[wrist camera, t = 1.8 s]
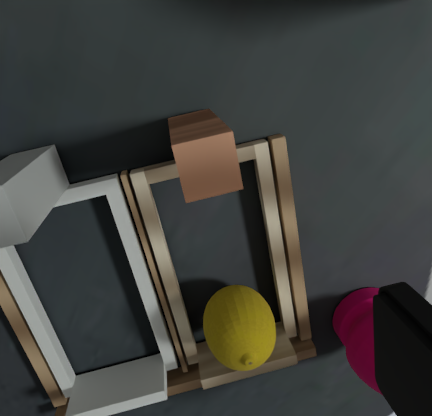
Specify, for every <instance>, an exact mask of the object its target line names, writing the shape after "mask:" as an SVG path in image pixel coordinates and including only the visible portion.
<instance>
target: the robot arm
mask: <svg viewBox="0 0 432 416" xmlns="http://www.w3.org/2000/svg"><path fill="white" fill-rule="evenodd" d="M373 329H374V365H375V379H376V383H377V385H378V388H379V390H380V391H381V393H382V394H383V396H384V397H385V399H386V400H387V402H388V403H389V405H390V406H391V408H392V409H393V411H394V412H395V414H396V415H397V416H432V305H431V304H429V302H428V301H426V300H425V299H424V298H423V297H422V296H421V295H420V294H419V293H417V292H416V291H415V290H414V289H413V288H412V287H411V286H409V285H408V284H407V283H405V282H400V283H395V284H391V285H387V286H383V287H381V288H379V290H378V294H377V295H374V296H373Z"/></svg>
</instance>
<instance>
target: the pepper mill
mask: <svg viewBox="0 0 432 416" xmlns="http://www.w3.org/2000/svg"><path fill="white" fill-rule="evenodd" d="M378 290H379V288H373V287H370V288H362V289H359V290H357V291H354V292H352V293H351V294H349V295H347V296H346V297H345V298H344V299H343V300H342V301H341V302H340V303H339V305H338V306H337V308H336V309H335V312H334V315H333V328H334V330H335V332H336V334H337V335H338V337H339V338H340V340H341V341H342V343H343V344H344V345H345V346H346V356H347V359H348V362H349V364H350V366H351V367H352V369H353V370H354V371H355V373H356V374H357V375H358V376H359V378H361V379H362V380H363V381H364V382H365V383H366V384H367V385H368V386H370V387H371V388H372V389H374V390H375V391H377V392H379V393H380V394H382V393H381V391H380V390H379V388H378V385H377V383H376V379H375V365H374V329H373V296H374V295H377V294H378ZM382 395H383V394H382Z"/></svg>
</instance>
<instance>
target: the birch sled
mask: <svg viewBox="0 0 432 416" xmlns="http://www.w3.org/2000/svg"><path fill="white" fill-rule="evenodd" d="M168 125H169V132H170V139H171V146H172V150H173V154H174V158H175V160H171V161H167V162H163V163H159V164H154V165H150V166H146V167H142V168H138V169H133V170H131V172H130V177H131V180H132V184H133V187H134V190H135V193H136V197H137V200H138V203H139V206H140V209H141V213H142V216H143V219H144V222H145V226H146V229H147V232H148V235H149V238H150V242H151V245H152V248H153V251H154V255H155V258H156V261H157V264H158V267H159V271H160V274H161V277H162V280H163V284H164V287H165V290H166V293H167V296H168V300H169V303H170V306H171V309H172V313H173V316H174V319H175V322H176V325H177V329H178V332H179V335H180V338H181V342H182V345H183V348H184V351H185V354H186V358H187V361H188V364H189V365H190V364H194V363H199V371H200V379H201V383H202V386H203V390H204V389H207V388H211V387H215V386H218V385H222V384H226V383H229V382H233V381H237V380H240V379H244V378H248V377H251V376H255V375H259V374H262V373H266V372H270V371H273V370H277V369H281V368H284V367H288V366H292V365H295V364H298V362H297V355H296V353H295V351H294V348H293V346H292V344H291V342H290V340H289V338H291V337H295V336H297V332H296V326H295V319H294V312H293V306H292V299H291V293H290V286H289V279H288V273H287V266H286V260H285V253H284V246H283V240H282V233H281V227H280V220H279V213H278V207H277V200H276V194H275V187H274V180H273V174H272V167H271V161H270V154H269V148H268V142H267V141H266V140H265V139H260V140H255V141H251V142H247V143H243V144H239V145H235V141H234V135H233V131H232V130H231V129H230V128H229V127H228V126H227V125H226V124H225V123H224V122H223V121H222V120H221V119H219V118H218V117H217V116H216V115H215V114H214V113H213V112H212V111H211V110H210V109H205V110H201V111H197V112H192V113H188V114H184V115H179V116H175V117H171V118H168ZM252 159H253V161H254V166H255V172H256V178H257V184H258V190H259V196H260V202H261V208H262V213H263V219H264V225H265V231H266V237H267V243H268V249H269V255H270V260H271V266H272V272H273V278H274V284H275V290H276V296H277V302H278V307H279V313H280V319H281V322H277V323H275V326H276V342H275V346H274V349H273V352H272V353H271V355H270V357H269V358H268V359H267V360H266V361H265V362H264V363H263V364H262V365H260V366H259V367H257V368H255V369H252V370H248V371H237V370H233V369H230V368H228V367H226V366H224V365H223V364H222V363H220V362H219V361H218V360H217V359H216V357H215V356H214V355H213V353H212V352H211V350H210V348H209V346H208V344H207V341H205V342H202V343H198V344H196V342H195V339H194V335H193V332H192V328H191V325H190V322H189V318H188V315H187V311H186V308H185V304H184V301H183V298H182V294H181V291H180V287H179V284H178V280H177V277H176V274H175V270H174V267H173V263H172V260H171V256H170V253H169V250H168V246H167V243H166V239H165V236H164V232H163V229H162V226H161V222H160V219H159V215H158V212H157V208H156V205H155V202H154V198H153V195H152V191H151V188H150V184H152V183H156V182H160V181H165V180H169V179H173V178H177V177H180V181H181V185H182V189H183V193H184V197H185V201H186V203H188V202H192V201H196V200H201V199H205V198H209V197H213V196H217V195H221V194H225V193H229V192H233V191H237V190H241V189H243V183H242V178H241V173H240V167H239V163H240V162H244V161H248V160H252Z"/></svg>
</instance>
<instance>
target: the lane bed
mask: <svg viewBox="0 0 432 416" xmlns="http://www.w3.org/2000/svg"><path fill="white" fill-rule="evenodd" d="M268 144H269V150H270V157H271V164H272V170H273V177H274V184H275V190H276V197H277V203H278V210H279V217H280V223H281V230H282V237H283V243H284V250H285V256H286V263H287V270H288V276H289V283H290V289H291V296H292V303H293V309H294V316H295V323H296V329H297V333H298V335H297V336H295V337H291V338H289V340H290V342H291V344H292V346H293V348H294V351H295V353H296V355H297V361H300V360H303V359H307V358H311V357H314V356H317V355H316V347H315V346H314V344H313V342H312V340H311V338H312V336H311V328H310V321H309V313H308V305H307V298H306V290H305V283H304V275H303V268H302V260H301V252H300V245H299V237H298V230H297V222H296V215H295V207H294V199H293V192H292V184H291V177H290V169H289V162H288V154H287V146H286V139H285V136H283V135H282V134H276V135H272V136H268ZM120 177H121V180H122V183H123V186H124V189H125V192H126V195H127V198H128V201H129V205H130V208H131V211H132V214H133V217H134V220H135V223H136V226H137V229H138V233H139V236H140V239H141V242H142V245H143V248H144V251H145V254H146V258H147V261H148V264H149V267H150V270H151V273H152V276H153V279H154V282H155V286H156V289H157V292H158V295H159V298H160V301H161V304H162V307H163V310H164V314H165V317H166V320H167V323H168V326H169V329H170V332H171V335H172V338H173V342H174V345H175V348H176V351H177V354H178V357H179V360H180V363H181V367H178V368H176V369H172V370H168V371H167V396H171V395H175V394H178V393H182V392H186V391H189V390H193V389H197V388H200V387H203V386H202V383H201V379H200V371H199V363H194V364H190V365H187V360H186V357H185V354H184V351H183V347H182V344H181V341H180V338H179V335H178V331H177V328H176V325H175V322H174V319H173V315H172V312H171V309H170V306H169V302H168V299H167V296H166V293H165V290H164V286H163V283H162V280H161V277H160V274H159V270H158V267H157V264H156V261H155V258H154V254H153V251H152V248H151V245H150V241H149V238H148V235H147V232H146V229H145V225H144V222H143V219H142V216H141V213H140V209H139V206H138V203H137V200H136V197H135V193H134V190H133V187H132V184H131V180H130V177H129V174H128V171H127V170H125V171H122V172H121V175H120ZM0 305H1V307H2V309H3V311H4V313H5V315H6V317H7V319H8V320H9V322H10V324H11V326H12V328H13V330H14V332H15V334H16V335H17V337H18V339H19V341H20V343H21V345H22V347H23V349H24V351H25V352H26V354H27V356H28V358H29V360H30V362H31V364H32V366H33V367H34V369H35V371H36V373H37V375H38V377H39V379H40V381H41V383H42V384H43V386H44V388H45V390H46V392H47V394H48V396H49V398H50V399H51V401H52V403H53V405H54V407H57V410H56V413H55V416H65V415H66V411H67V407H68V403H69V400H70V397H67V398H65V396H64V394H63V392H62V390H61V388H60V386H59V384H58V382H57V380H56V378H55V376H54V374H53V372H52V370H51V368H50V366H49V364H48V362H47V361H46V359H45V357H44V355H43V353H42V351H41V349H40V347H39V345H38V343H37V341H36V339H35V337H34V335H33V333H32V331H31V329H30V327H29V325H28V323H27V321H26V319H25V317H24V315H23V313H22V311H21V309H20V307H19V305H18V303H17V301H16V299H15V298H14V296H13V294H12V292H11V290H10V288H9V286H8V284H7V282H6V280H5V278H4V276H3V274H2V272H1V270H0Z"/></svg>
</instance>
